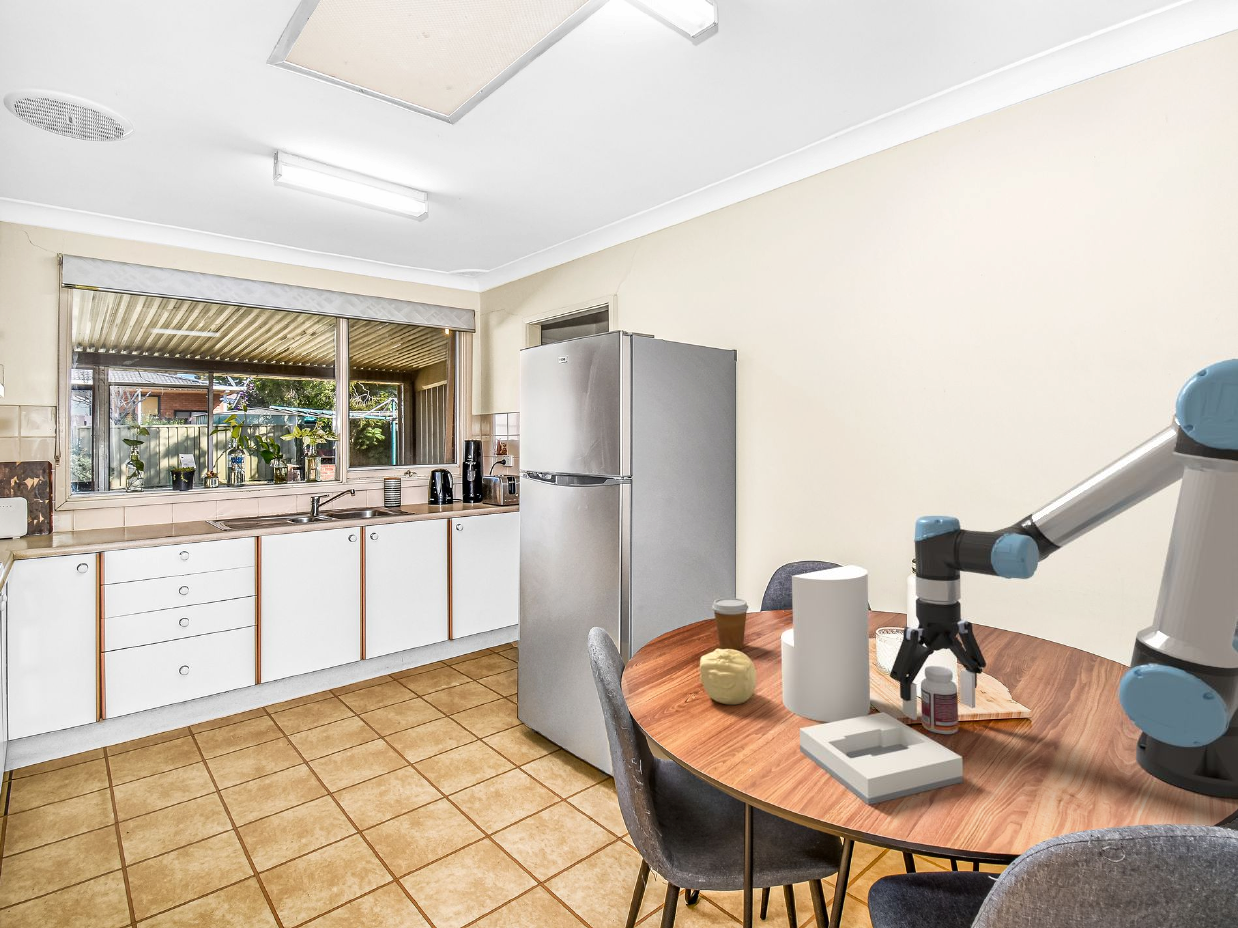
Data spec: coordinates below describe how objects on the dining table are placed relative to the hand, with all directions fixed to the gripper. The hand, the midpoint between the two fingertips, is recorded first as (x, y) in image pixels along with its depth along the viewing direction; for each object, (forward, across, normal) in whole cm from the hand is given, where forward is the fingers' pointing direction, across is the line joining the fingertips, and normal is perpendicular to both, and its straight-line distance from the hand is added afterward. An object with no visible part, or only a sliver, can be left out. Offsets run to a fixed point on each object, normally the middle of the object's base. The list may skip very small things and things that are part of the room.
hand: (939, 710), depth 120 cm
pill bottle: (+3, 0, 0) cm, 3 cm away
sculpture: (+4, +30, -27) cm, 41 cm away
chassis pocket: (+3, +20, +7) cm, 21 cm away
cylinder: (+4, +13, -17) cm, 22 cm away
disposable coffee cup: (+4, +14, -57) cm, 59 cm away
